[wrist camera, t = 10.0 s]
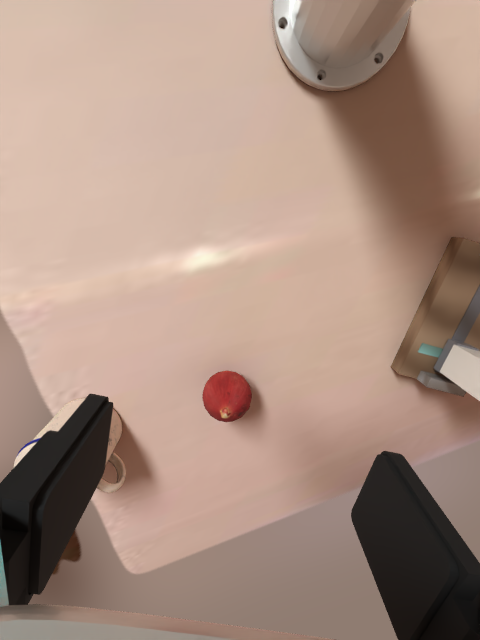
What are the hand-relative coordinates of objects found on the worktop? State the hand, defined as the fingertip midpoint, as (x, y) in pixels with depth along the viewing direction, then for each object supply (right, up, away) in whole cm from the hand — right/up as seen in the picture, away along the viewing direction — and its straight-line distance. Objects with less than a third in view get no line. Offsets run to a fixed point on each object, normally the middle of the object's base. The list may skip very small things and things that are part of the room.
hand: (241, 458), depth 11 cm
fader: (+26, 0, +27) cm, 37 cm away
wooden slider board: (+27, +5, +28) cm, 39 cm away
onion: (-2, -3, +30) cm, 30 cm away
